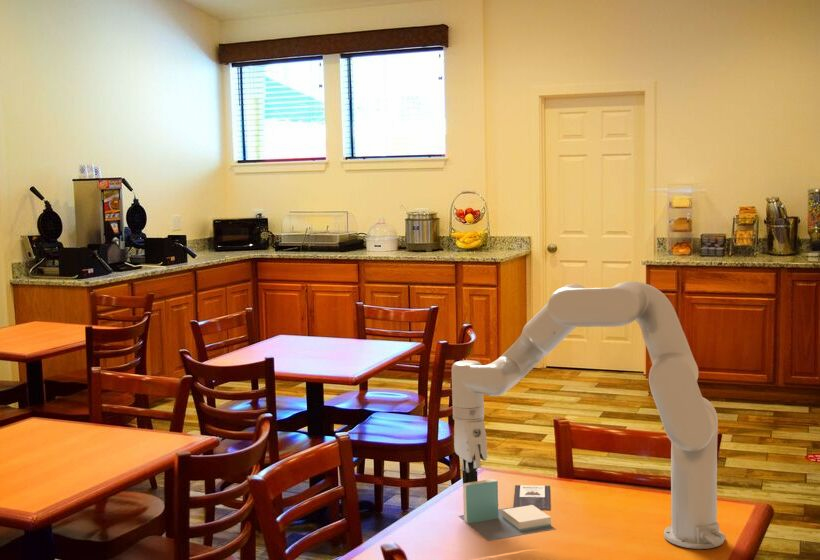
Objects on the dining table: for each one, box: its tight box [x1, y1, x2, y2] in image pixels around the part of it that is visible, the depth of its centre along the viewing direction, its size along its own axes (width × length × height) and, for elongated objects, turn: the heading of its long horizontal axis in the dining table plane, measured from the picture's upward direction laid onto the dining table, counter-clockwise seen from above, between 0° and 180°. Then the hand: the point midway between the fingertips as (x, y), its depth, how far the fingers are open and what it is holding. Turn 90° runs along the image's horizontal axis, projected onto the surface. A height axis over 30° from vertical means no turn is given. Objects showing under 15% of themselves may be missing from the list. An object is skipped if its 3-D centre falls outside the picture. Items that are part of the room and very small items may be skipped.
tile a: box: [502, 505, 552, 531], centre depth 206 cm, size 2×8×9 cm
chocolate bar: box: [512, 484, 552, 511], centre depth 223 cm, size 9×1×18 cm
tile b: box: [462, 478, 499, 524], centre depth 208 cm, size 2×8×9 cm, turn 110°
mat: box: [458, 506, 556, 542], centre depth 206 cm, size 17×17×1 cm
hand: (470, 486), depth 214 cm, fingers closed
